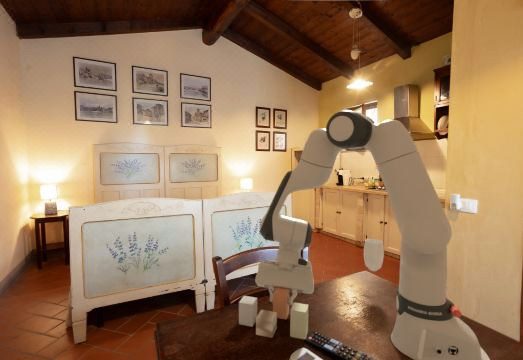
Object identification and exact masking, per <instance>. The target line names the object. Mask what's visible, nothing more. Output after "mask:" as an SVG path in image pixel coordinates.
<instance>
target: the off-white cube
mask: <svg viewBox="0 0 523 360" xmlns="http://www.w3.org/2000/svg"><path fill="white" fill-rule="evenodd" d="M277 329H278V318H277V312H273V310H272V311H271V310H266V309H260V311H259V313H257V317H256V322H255V335H257V336H261V337H266V338H270V339H271V338H273V337H274V336H275V333H276V330H277Z"/></svg>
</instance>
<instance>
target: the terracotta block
mask: <svg viewBox="0 0 523 360" xmlns="http://www.w3.org/2000/svg"><path fill="white" fill-rule="evenodd" d="M272 294H273V302H272V312H277V319H282V320H287V318H288V316H289V315H290V305H289V304H287V301H288V297H289V298H290V291H289V289H285V288H278V287H276V289H274V291H272Z"/></svg>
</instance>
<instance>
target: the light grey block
mask: <svg viewBox="0 0 523 360" xmlns="http://www.w3.org/2000/svg"><path fill="white" fill-rule="evenodd" d="M257 316H258V297H254V296H248V295H243V296H242V298H241V299H240V300H239V301H238V325H241V326H247V327H253V326H254V325H255V324H256V317H257Z"/></svg>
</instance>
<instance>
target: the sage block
mask: <svg viewBox="0 0 523 360" xmlns="http://www.w3.org/2000/svg"><path fill="white" fill-rule="evenodd" d="M289 315H290V322H289V323H290V325H289V327H290V328H289V329H290V330H289V332H290V333H289V336H290V338H295V339H301V340H305V339H306V340H307V335H308V333H309V304H306V303H300V302H294V301H293V303H292V305H291V307H290V309H289Z"/></svg>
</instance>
